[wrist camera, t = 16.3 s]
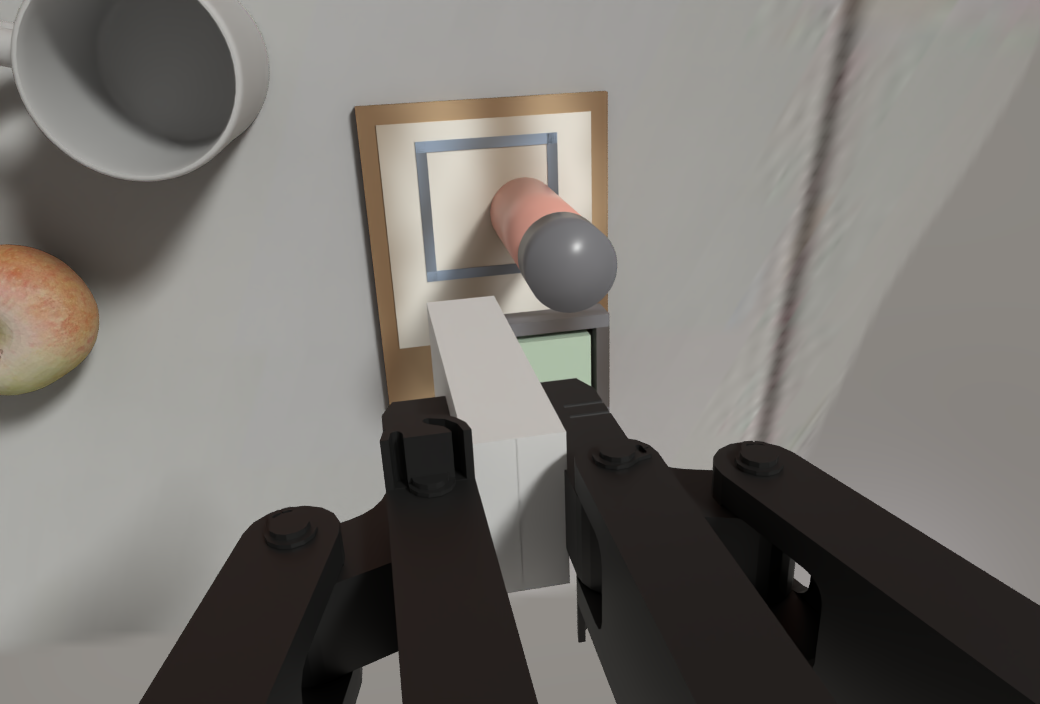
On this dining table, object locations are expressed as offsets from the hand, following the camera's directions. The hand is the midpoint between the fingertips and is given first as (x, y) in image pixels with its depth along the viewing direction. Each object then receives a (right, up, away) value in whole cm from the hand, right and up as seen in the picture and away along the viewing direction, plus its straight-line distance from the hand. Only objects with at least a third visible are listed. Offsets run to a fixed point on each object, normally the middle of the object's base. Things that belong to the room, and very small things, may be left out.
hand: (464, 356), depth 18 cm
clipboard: (0, +5, +30) cm, 31 cm away
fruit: (-25, +3, +26) cm, 36 cm away
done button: (+3, -1, +32) cm, 32 cm away
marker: (+1, +8, +29) cm, 30 cm away
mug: (-18, +15, +23) cm, 33 cm away
